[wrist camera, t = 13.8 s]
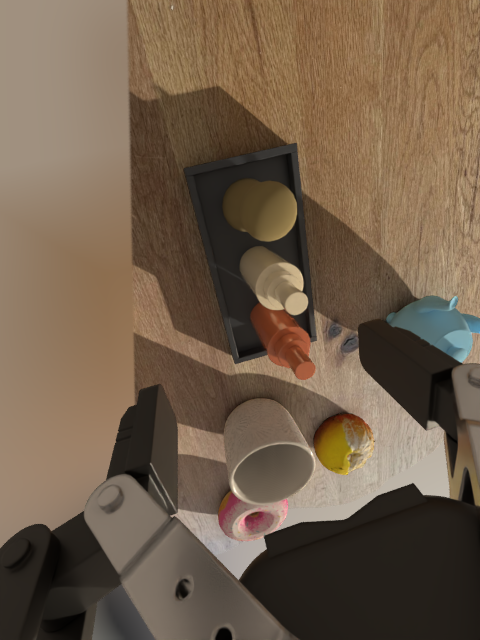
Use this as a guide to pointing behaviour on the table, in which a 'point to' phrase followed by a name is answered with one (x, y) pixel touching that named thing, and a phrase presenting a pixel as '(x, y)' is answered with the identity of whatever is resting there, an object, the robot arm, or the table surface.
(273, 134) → the table surface
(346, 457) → the fruit
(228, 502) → the donut
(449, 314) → the teapot
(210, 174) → the tray
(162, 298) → the table surface
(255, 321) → the terracotta bottle
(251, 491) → the planter
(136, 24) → the table surface
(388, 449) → the table surface
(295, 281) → the cream bottle
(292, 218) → the pepper shaker
